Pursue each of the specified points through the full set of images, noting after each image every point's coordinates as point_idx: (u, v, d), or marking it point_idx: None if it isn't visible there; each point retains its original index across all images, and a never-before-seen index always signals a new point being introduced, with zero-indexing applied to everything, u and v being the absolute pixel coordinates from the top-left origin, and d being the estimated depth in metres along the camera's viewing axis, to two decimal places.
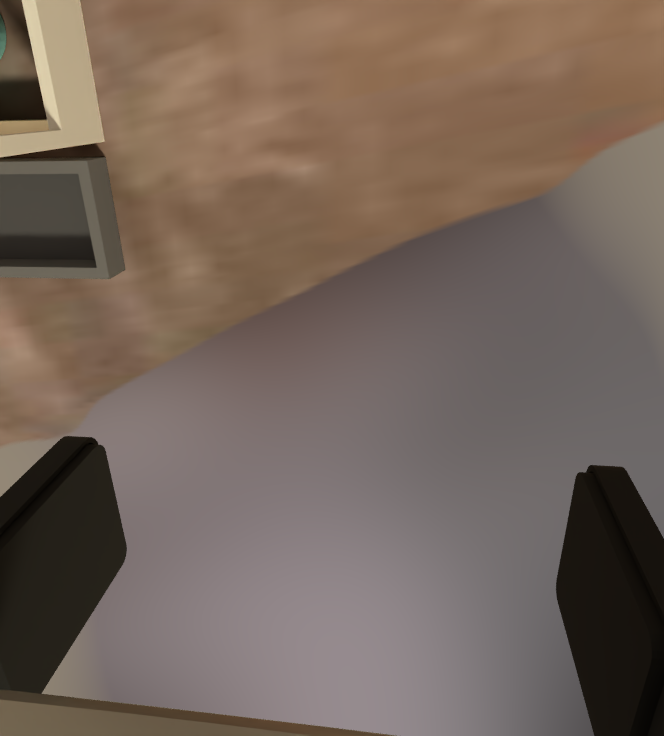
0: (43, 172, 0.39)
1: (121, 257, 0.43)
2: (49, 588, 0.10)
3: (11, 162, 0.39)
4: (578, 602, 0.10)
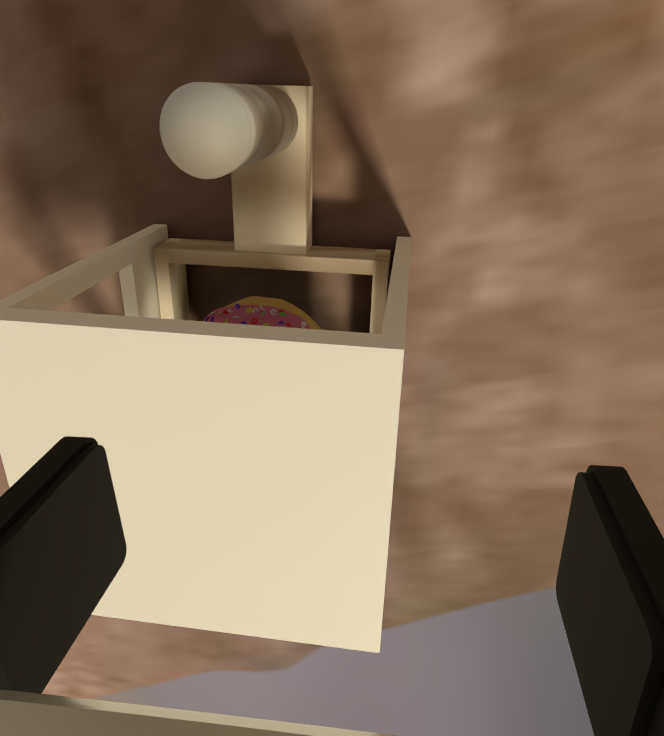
0: None
1: None
2: (49, 588, 0.10)
3: None
4: (578, 602, 0.10)
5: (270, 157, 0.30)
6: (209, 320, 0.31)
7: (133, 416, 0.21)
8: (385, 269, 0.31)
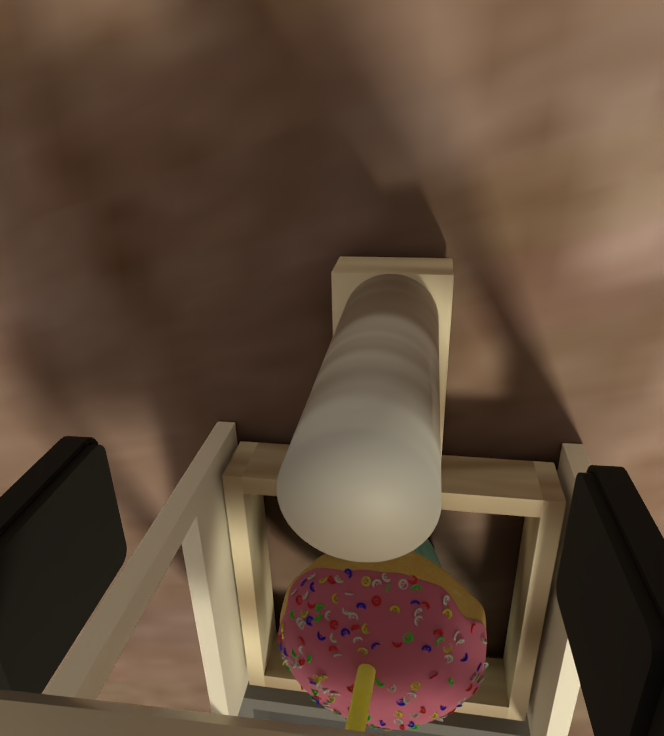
0: None
1: None
2: (49, 588, 0.10)
3: None
4: (578, 602, 0.10)
5: None
6: (307, 586, 0.22)
7: None
8: (560, 511, 0.21)
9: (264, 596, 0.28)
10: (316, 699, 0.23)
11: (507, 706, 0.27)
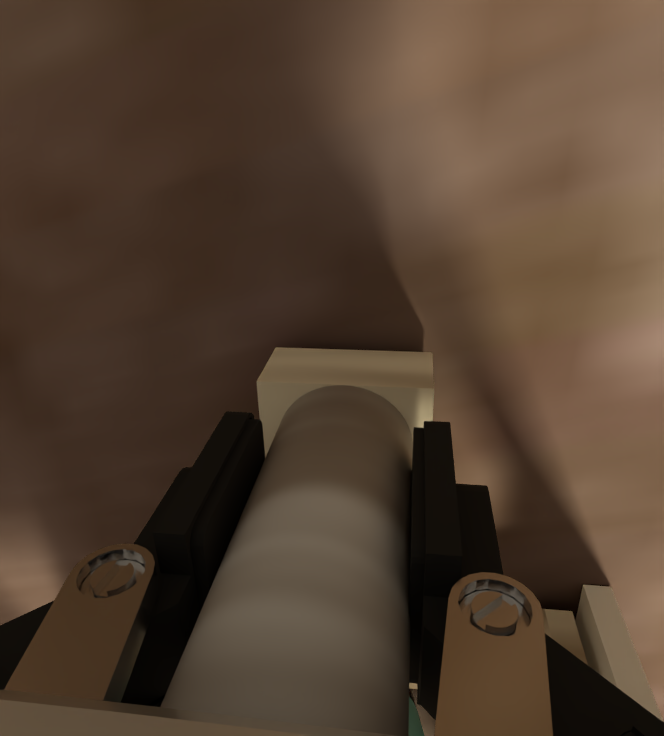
0: None
1: None
2: None
3: None
4: None
5: None
6: None
7: None
8: None
9: None
10: None
11: None
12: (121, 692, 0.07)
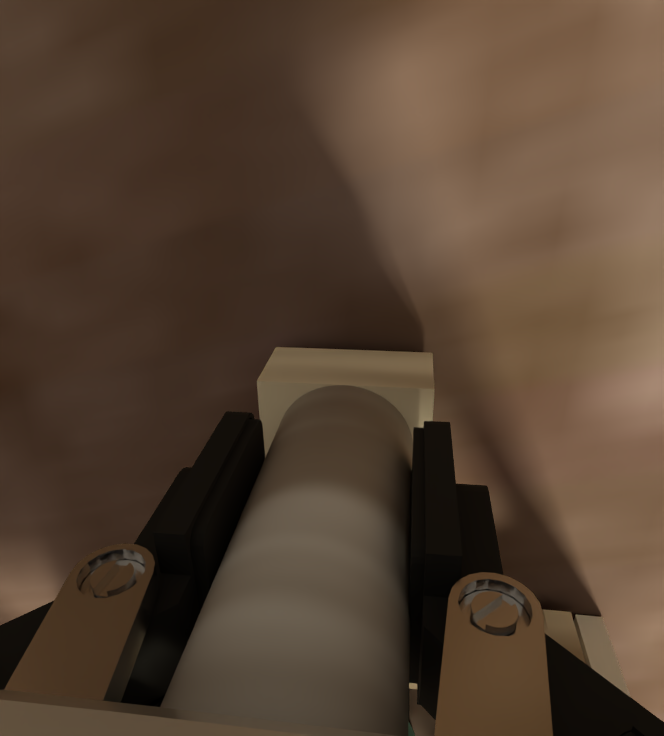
0: None
1: None
2: None
3: None
4: None
5: None
6: None
7: None
8: None
9: None
10: None
11: None
12: (121, 692, 0.07)
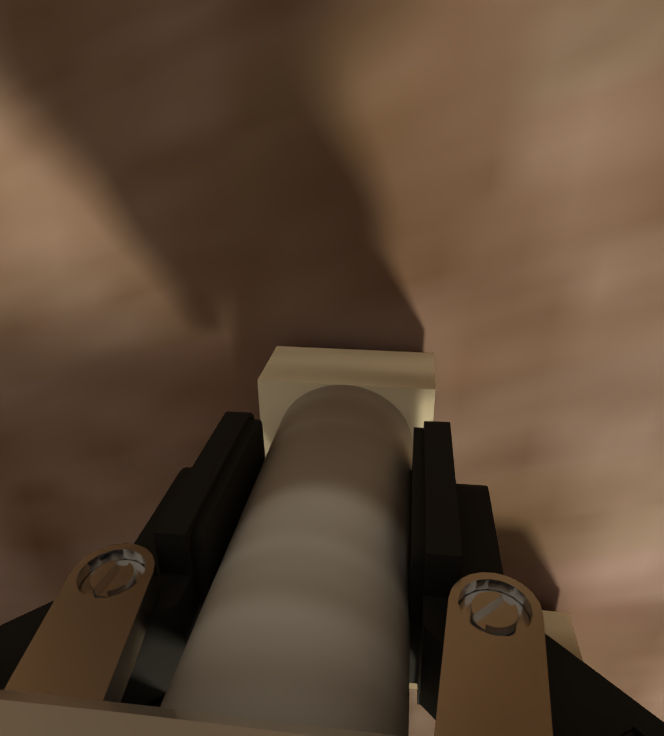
0: None
1: None
2: None
3: None
4: None
5: None
6: None
7: None
8: None
9: None
10: None
11: None
12: (121, 692, 0.07)
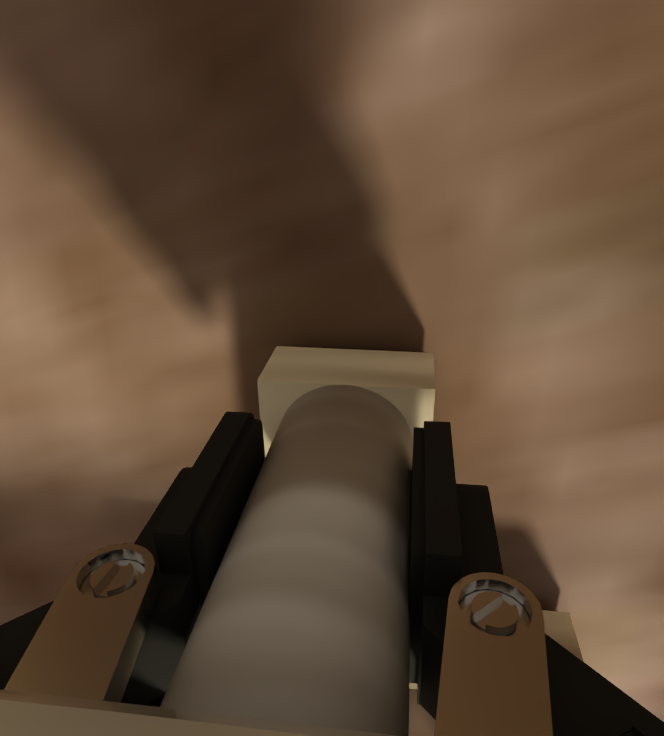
0: None
1: None
2: None
3: None
4: None
5: None
6: None
7: None
8: None
9: None
10: None
11: None
12: (122, 692, 0.07)
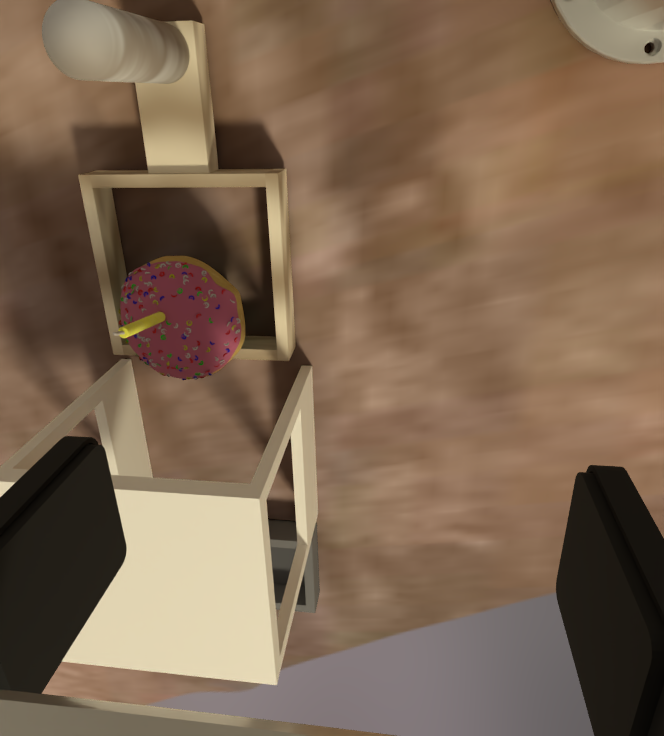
0: (273, 546, 0.49)
1: (318, 585, 0.53)
2: (49, 588, 0.10)
3: None
4: (578, 602, 0.10)
5: (169, 86, 0.35)
6: (128, 280, 0.38)
7: None
8: (276, 181, 0.36)
9: (120, 287, 0.42)
10: (145, 357, 0.39)
11: (276, 349, 0.41)
12: None
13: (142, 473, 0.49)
